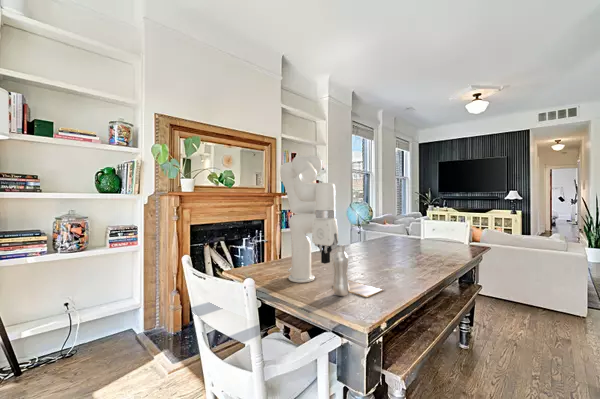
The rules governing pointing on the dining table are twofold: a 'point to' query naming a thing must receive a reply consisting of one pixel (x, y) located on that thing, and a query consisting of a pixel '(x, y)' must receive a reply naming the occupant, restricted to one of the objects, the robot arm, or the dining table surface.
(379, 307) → the dining table surface
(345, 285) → the plastic bottle
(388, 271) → the dining table surface
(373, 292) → the cork mat
